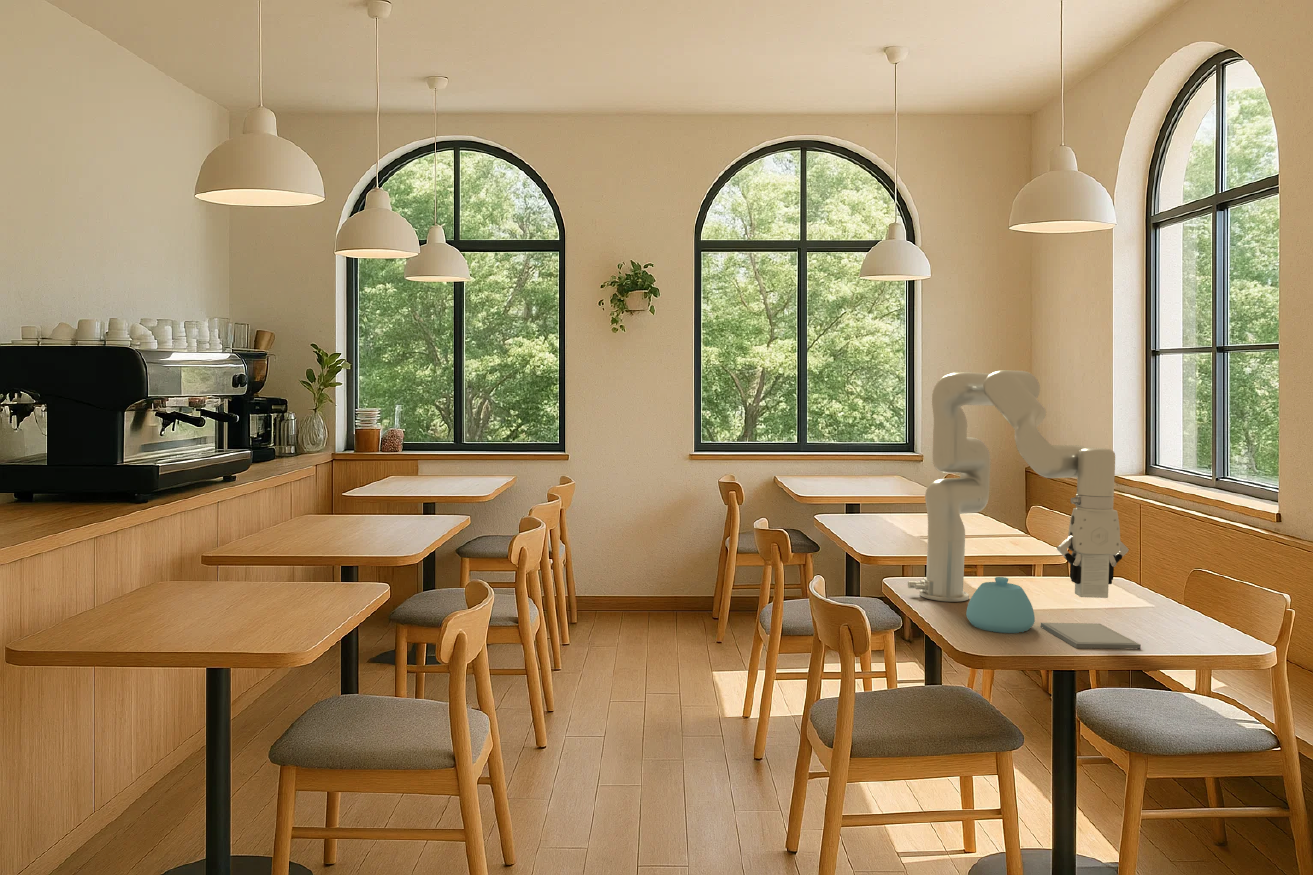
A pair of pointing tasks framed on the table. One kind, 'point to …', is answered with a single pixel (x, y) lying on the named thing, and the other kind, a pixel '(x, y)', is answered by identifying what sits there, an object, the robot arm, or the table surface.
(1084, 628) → the slate board
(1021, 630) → the sugar bowl
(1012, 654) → the table surface
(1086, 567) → the skincare box
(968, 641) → the table surface
